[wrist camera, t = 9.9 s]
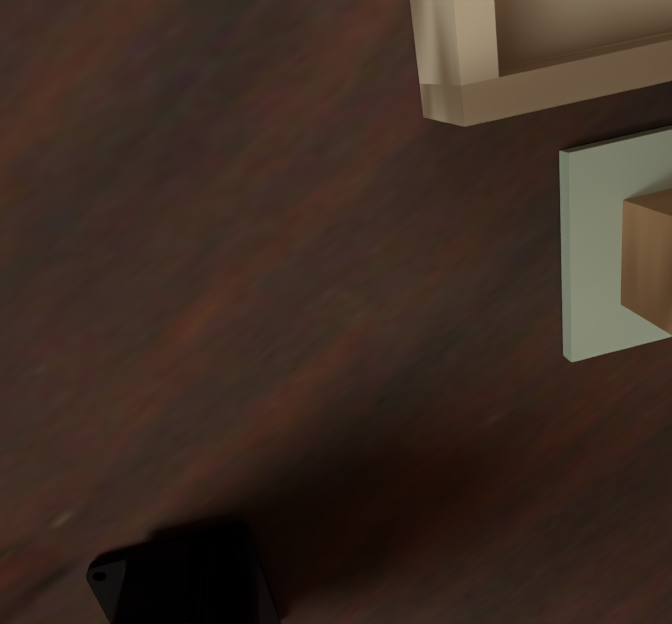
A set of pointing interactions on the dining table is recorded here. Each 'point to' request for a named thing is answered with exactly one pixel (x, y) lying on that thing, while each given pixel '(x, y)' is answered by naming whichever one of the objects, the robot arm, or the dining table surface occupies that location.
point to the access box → (535, 53)
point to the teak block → (648, 257)
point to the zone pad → (604, 237)
